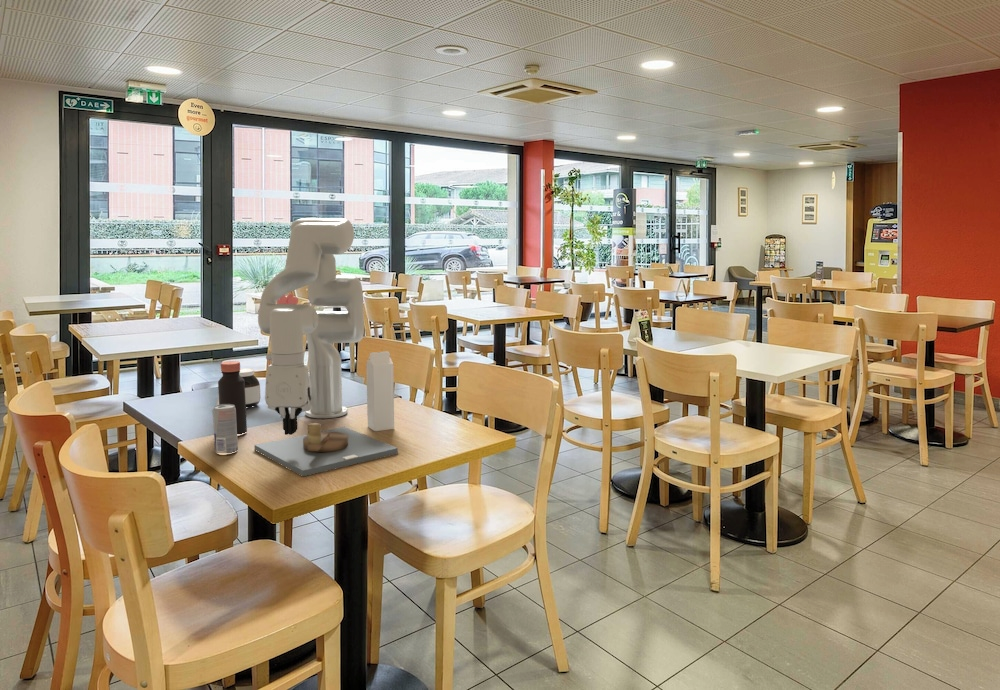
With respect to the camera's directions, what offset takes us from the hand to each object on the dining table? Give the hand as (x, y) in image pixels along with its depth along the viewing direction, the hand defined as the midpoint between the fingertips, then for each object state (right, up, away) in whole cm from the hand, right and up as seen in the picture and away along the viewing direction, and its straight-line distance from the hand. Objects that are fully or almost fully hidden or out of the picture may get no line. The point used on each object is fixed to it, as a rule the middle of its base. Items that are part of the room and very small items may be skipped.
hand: (290, 433), depth 172 cm
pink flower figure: (-20, +4, +69) cm, 72 cm away
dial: (+7, -4, +4) cm, 9 cm away
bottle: (-22, -3, +22) cm, 31 cm away
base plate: (+7, -6, +7) cm, 11 cm away
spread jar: (-32, +2, +51) cm, 61 cm away
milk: (+17, -2, +29) cm, 34 cm away
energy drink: (-18, -6, +5) cm, 19 cm away
